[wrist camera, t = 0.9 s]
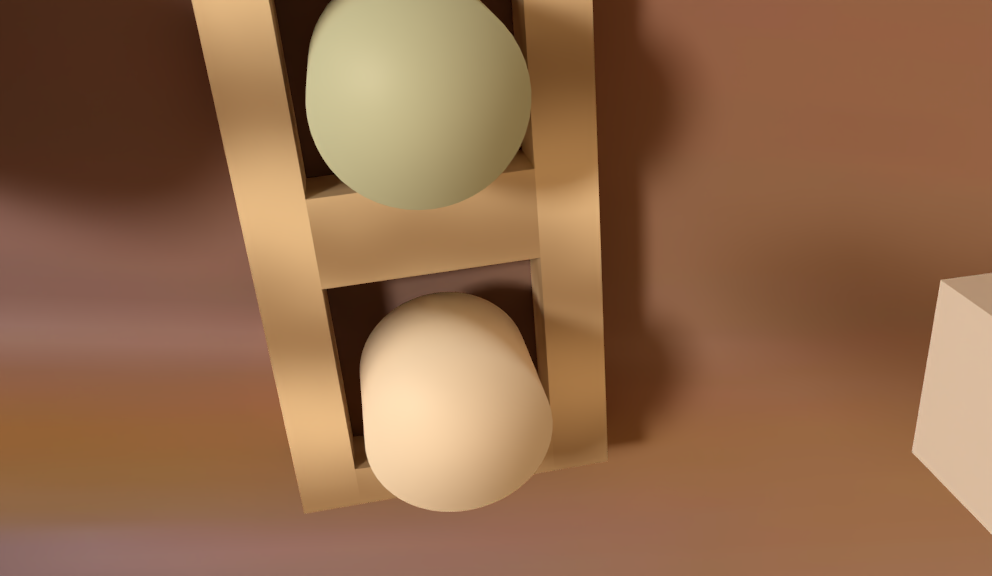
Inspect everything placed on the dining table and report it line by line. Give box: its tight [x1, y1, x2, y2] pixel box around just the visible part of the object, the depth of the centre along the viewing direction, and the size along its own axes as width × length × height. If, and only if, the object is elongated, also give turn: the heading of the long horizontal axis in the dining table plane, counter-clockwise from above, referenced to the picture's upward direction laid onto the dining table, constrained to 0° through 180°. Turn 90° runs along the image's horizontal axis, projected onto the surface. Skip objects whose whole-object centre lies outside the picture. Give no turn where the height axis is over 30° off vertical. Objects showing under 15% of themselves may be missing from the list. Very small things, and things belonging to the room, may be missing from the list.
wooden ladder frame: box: [192, 0, 608, 514], centre depth 27 cm, size 30×11×2 cm, turn 5°
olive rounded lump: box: [306, 0, 531, 210], centre depth 25 cm, size 6×6×4 cm
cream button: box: [360, 292, 553, 512], centre depth 29 cm, size 6×6×4 cm
